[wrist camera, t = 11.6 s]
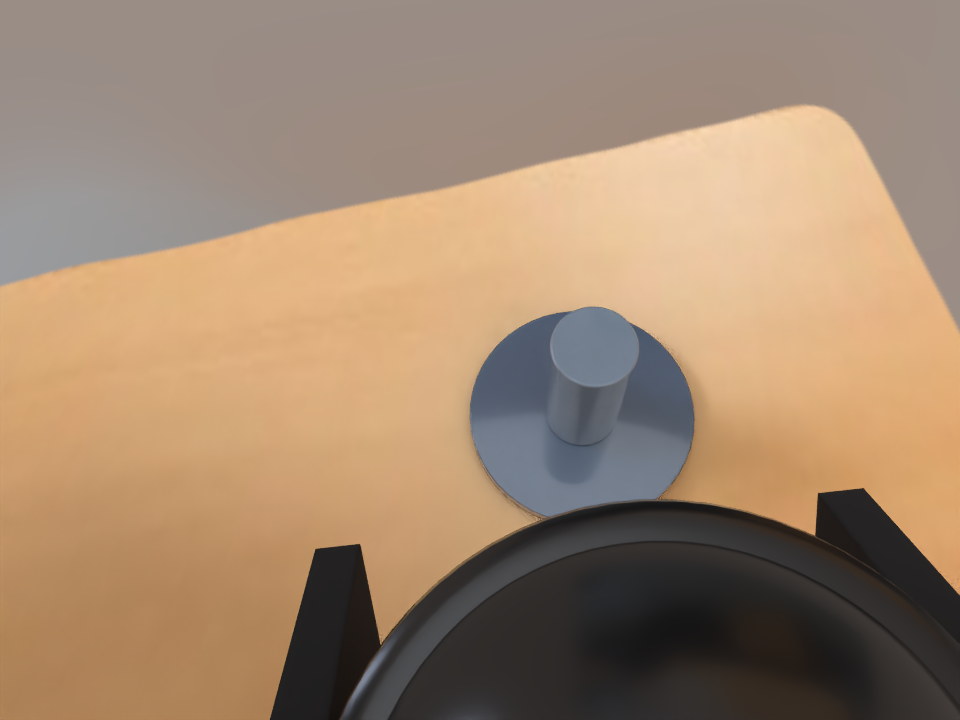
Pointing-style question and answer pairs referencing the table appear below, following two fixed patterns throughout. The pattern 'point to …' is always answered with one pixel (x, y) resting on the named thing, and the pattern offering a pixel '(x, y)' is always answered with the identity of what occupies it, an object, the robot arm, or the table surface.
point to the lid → (581, 413)
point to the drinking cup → (662, 628)
